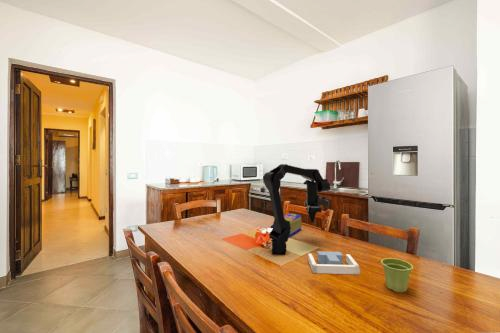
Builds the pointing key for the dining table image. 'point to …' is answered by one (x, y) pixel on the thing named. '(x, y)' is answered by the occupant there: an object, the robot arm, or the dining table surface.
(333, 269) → the u-shaped frame
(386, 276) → the plant pot
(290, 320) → the dining table surface
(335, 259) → the t block
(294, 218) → the blue and olive box
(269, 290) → the dining table surface
